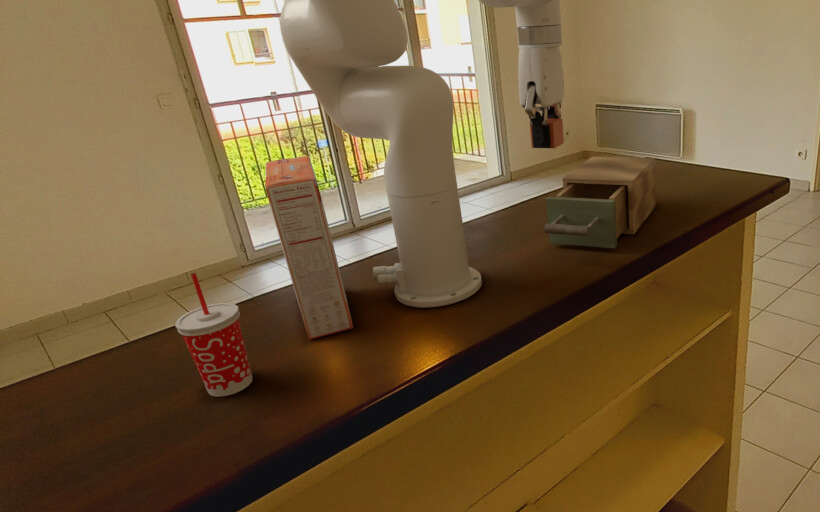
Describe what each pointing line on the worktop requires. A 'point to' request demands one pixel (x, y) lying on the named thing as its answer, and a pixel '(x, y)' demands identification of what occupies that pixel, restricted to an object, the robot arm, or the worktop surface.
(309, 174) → the cracker box
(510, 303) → the worktop surface
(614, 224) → the drawer
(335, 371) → the worktop surface
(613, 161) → the cabinet
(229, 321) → the beverage cup
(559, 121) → the block
